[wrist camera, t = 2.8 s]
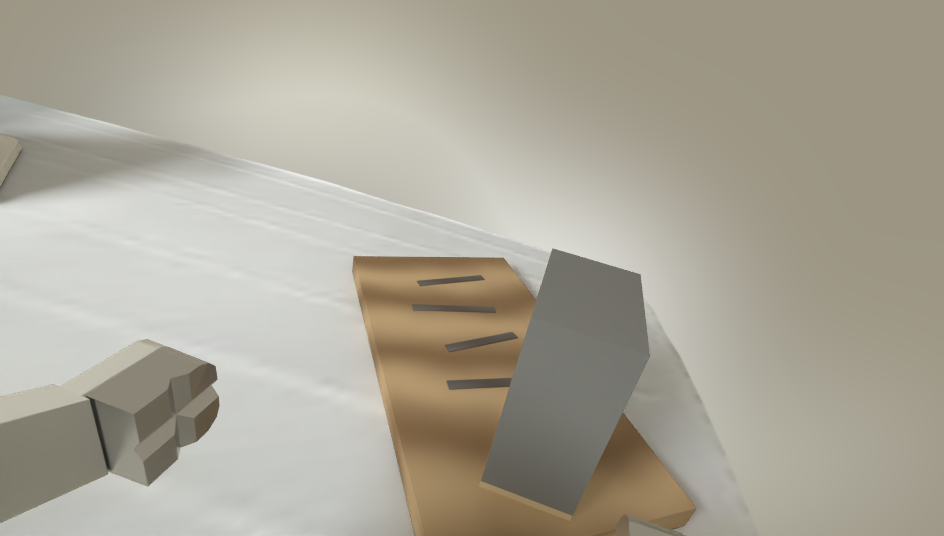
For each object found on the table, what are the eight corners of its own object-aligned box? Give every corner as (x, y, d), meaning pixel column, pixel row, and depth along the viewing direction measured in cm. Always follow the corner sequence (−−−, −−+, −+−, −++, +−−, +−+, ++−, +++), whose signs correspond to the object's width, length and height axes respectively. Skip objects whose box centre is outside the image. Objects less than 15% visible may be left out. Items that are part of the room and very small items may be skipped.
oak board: (352, 271, 40) (353, 255, 39) (500, 271, 45) (503, 257, 45) (429, 596, 19) (435, 574, 19) (684, 525, 25) (697, 507, 24)
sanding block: (570, 521, 22) (649, 356, 17) (479, 486, 23) (531, 318, 18) (579, 417, 28) (640, 274, 23) (507, 392, 29) (552, 248, 24)
